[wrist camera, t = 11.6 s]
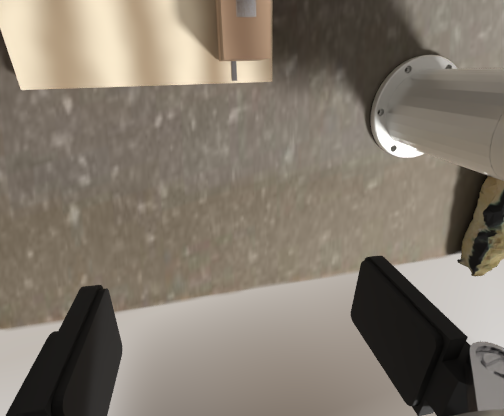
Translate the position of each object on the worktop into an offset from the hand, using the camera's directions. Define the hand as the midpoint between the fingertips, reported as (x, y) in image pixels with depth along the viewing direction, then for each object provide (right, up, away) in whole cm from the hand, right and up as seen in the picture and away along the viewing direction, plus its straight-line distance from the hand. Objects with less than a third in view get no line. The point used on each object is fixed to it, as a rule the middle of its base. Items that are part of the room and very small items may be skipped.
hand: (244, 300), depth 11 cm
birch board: (-10, +21, +19) cm, 30 cm away
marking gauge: (-1, +23, +17) cm, 29 cm away
